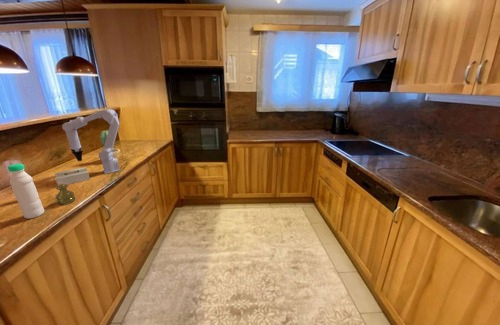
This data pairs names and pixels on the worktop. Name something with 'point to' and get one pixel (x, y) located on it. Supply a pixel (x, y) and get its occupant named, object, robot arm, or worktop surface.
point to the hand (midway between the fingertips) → (79, 159)
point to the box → (72, 176)
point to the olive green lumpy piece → (64, 195)
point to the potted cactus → (103, 140)
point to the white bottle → (25, 192)
